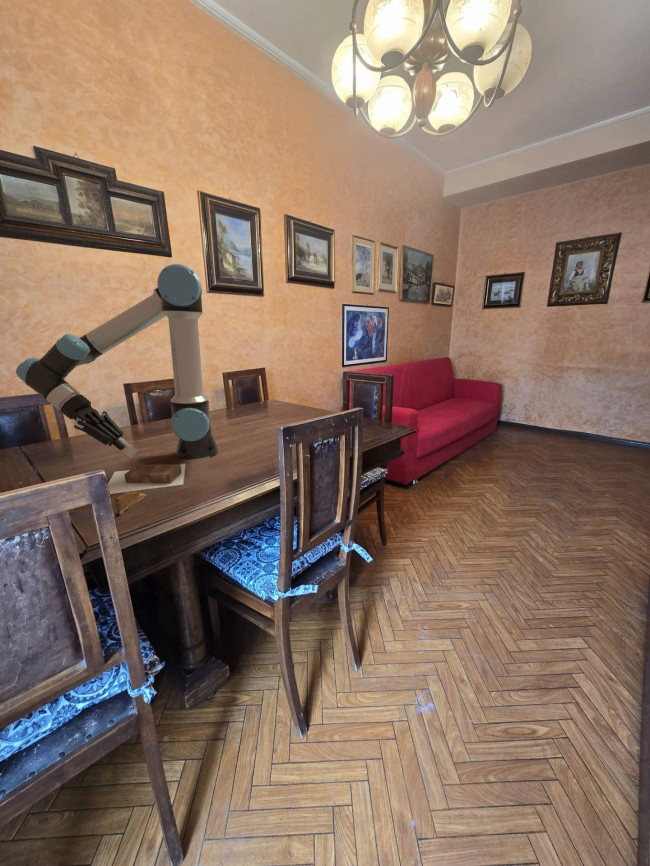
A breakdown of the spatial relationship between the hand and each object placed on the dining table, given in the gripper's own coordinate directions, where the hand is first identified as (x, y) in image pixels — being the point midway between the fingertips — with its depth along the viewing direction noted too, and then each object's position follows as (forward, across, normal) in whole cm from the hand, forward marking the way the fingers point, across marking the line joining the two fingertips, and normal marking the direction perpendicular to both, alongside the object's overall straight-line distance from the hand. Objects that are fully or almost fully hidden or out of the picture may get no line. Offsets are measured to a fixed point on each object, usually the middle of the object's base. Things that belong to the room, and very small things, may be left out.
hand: (134, 454), depth 109 cm
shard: (+11, +15, -2) cm, 19 cm away
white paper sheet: (+8, 0, -4) cm, 9 cm away
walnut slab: (+3, 0, -6) cm, 7 cm away
